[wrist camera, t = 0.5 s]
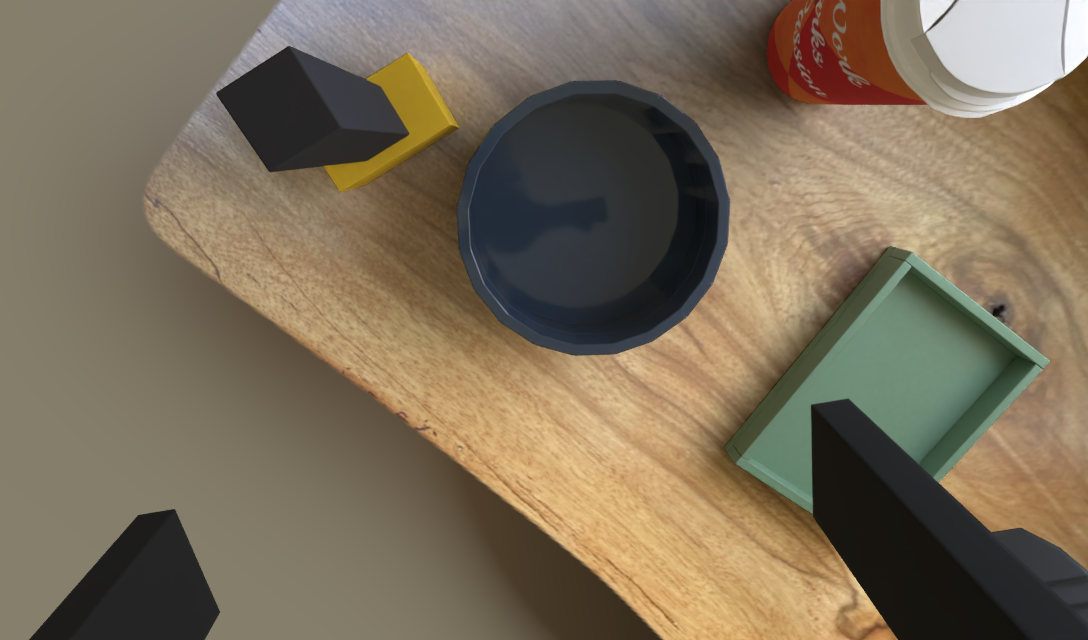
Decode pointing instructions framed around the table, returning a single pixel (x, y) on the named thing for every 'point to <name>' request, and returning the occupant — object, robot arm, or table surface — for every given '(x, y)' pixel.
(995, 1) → the paper cup
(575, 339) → the bowl
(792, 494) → the green rectangular tray
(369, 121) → the sponge wand
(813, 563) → the table surface
